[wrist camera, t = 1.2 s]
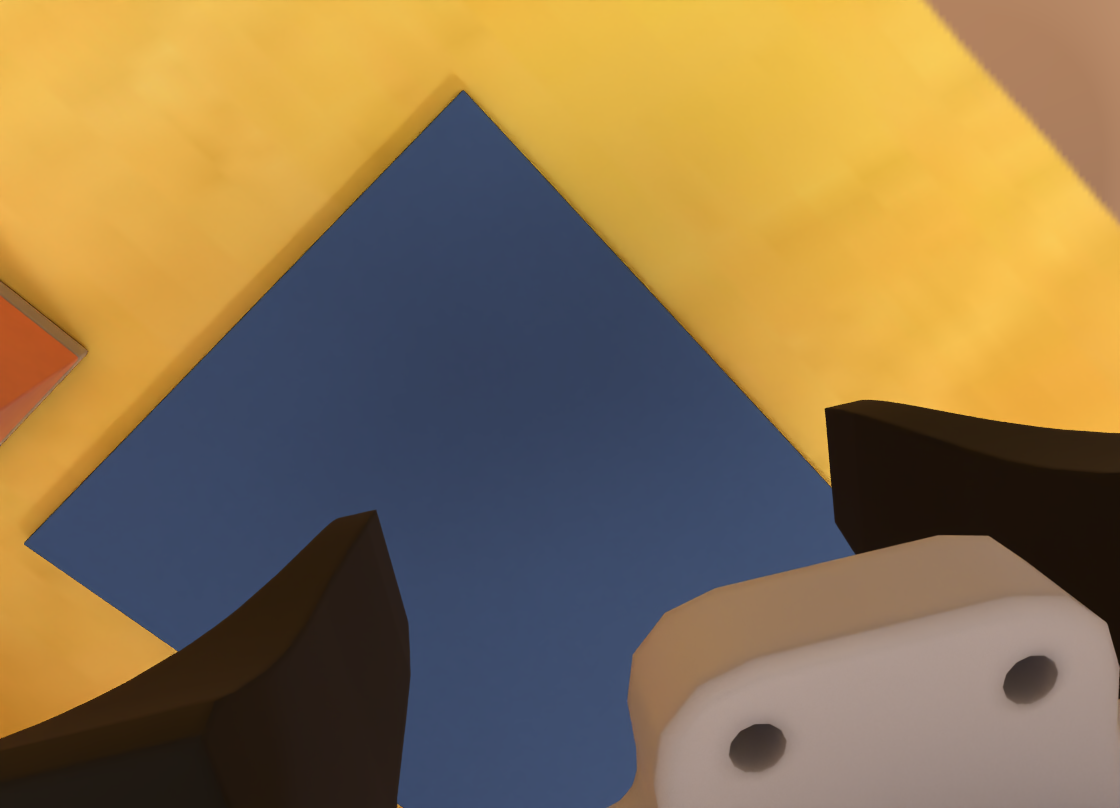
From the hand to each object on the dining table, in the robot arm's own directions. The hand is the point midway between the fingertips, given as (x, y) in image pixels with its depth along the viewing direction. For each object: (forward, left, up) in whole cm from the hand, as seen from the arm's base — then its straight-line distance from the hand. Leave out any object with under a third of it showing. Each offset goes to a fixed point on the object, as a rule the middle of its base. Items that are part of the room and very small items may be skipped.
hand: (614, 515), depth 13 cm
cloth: (-5, -4, -10) cm, 12 cm away
